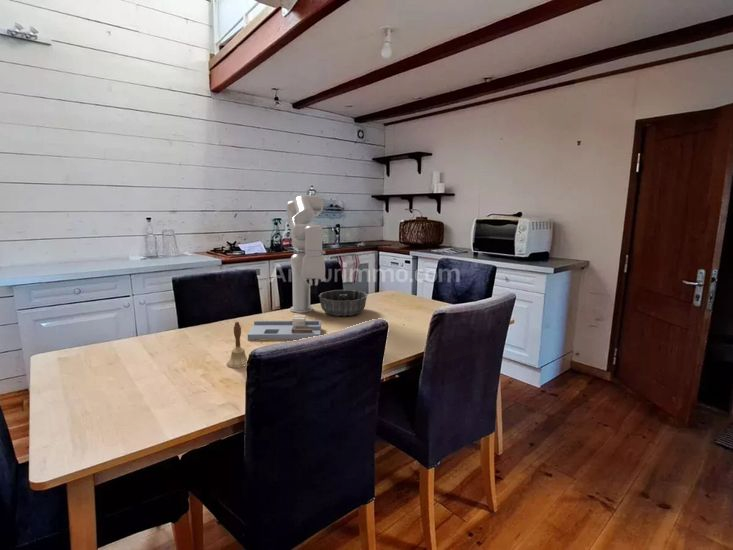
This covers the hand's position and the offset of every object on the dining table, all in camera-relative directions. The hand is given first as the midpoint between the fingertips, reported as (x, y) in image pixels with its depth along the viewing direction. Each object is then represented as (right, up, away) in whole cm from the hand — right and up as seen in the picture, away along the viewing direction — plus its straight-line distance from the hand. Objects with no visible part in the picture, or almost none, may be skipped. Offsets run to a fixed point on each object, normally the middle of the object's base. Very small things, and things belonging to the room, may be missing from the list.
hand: (313, 293), depth 178 cm
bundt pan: (+11, -12, +37) cm, 40 cm away
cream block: (-7, -15, +3) cm, 17 cm away
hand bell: (-23, -25, -34) cm, 48 cm away
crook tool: (-5, -17, -5) cm, 18 cm away
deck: (-12, -18, -1) cm, 22 cm away
